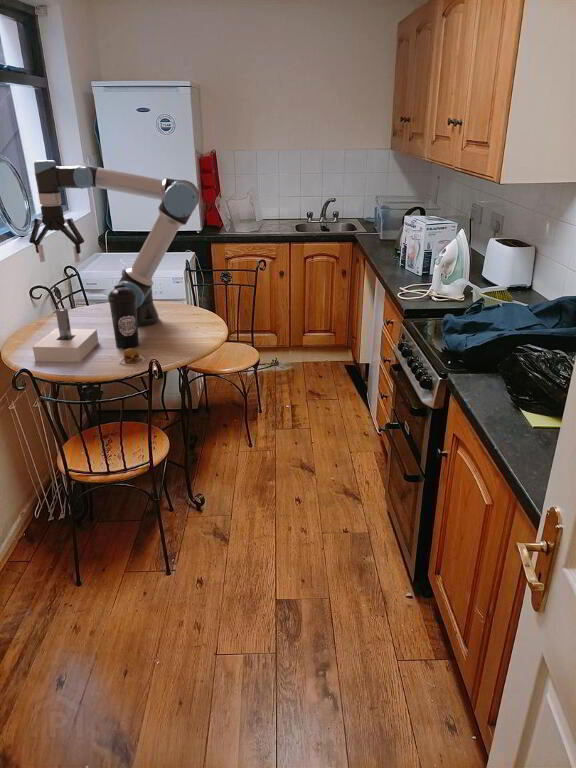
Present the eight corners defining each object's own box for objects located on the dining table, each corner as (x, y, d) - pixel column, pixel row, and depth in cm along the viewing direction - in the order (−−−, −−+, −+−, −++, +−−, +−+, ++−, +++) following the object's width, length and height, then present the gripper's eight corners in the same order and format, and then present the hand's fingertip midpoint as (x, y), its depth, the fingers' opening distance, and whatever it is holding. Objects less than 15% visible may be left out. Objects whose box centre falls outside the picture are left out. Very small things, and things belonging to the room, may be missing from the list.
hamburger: (149, 355, 208) (148, 341, 205) (149, 367, 197) (147, 353, 195) (115, 357, 205) (114, 343, 203) (113, 370, 195) (112, 355, 192)
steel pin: (74, 344, 209) (69, 308, 203) (70, 348, 206) (64, 311, 200) (64, 344, 209) (58, 308, 204) (59, 348, 206) (53, 311, 200)
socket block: (98, 342, 217) (96, 329, 215) (79, 362, 199) (77, 347, 197) (57, 341, 218) (55, 328, 215) (35, 361, 199) (32, 346, 197)
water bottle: (117, 351, 209) (109, 291, 199) (111, 343, 217) (104, 285, 208) (144, 347, 213) (138, 288, 204) (137, 339, 221) (131, 282, 212)
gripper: (87, 204, 212) (95, 260, 220) (22, 203, 212) (32, 259, 220) (81, 206, 205) (89, 264, 214) (13, 205, 205) (23, 263, 214)
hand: (60, 261), depth 217 cm, fingers open, 13 cm apart
